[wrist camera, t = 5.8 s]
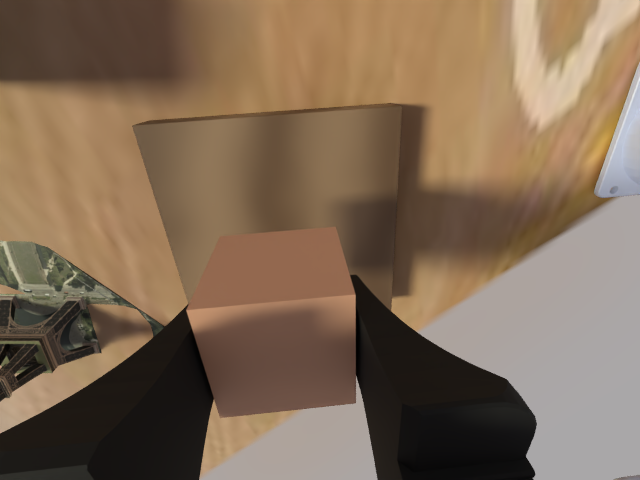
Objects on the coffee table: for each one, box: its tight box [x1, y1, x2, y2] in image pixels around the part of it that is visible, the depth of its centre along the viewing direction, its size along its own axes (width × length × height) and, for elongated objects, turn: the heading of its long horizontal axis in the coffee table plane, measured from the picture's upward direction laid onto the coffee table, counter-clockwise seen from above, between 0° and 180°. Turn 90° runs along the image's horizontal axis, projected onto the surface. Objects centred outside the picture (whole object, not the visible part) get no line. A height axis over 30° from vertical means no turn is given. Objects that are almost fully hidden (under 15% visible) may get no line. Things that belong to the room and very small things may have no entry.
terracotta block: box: [186, 227, 356, 418], centre depth 12 cm, size 5×5×4 cm
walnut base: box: [132, 103, 402, 311], centre depth 19 cm, size 13×13×2 cm
